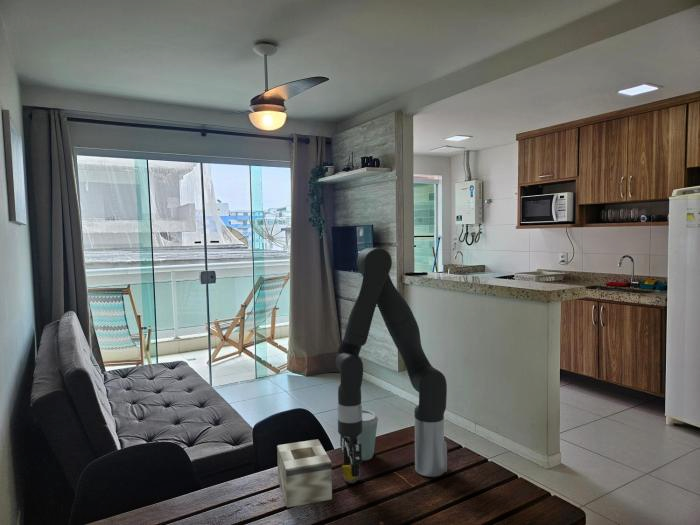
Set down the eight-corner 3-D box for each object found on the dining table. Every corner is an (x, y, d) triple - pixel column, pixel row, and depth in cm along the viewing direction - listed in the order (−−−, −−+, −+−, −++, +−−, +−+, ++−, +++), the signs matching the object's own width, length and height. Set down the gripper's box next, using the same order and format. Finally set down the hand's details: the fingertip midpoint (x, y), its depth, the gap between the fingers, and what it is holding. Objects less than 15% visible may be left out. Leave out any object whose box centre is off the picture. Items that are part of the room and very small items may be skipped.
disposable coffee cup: (384, 454, 162) (383, 411, 162) (368, 467, 153) (367, 421, 153) (358, 447, 168) (357, 405, 167) (341, 459, 159) (340, 415, 158)
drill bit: (365, 483, 144) (350, 471, 138) (350, 489, 145) (334, 477, 139) (362, 466, 148) (348, 453, 142) (347, 472, 149) (332, 460, 143)
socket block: (318, 472, 150) (317, 438, 150) (332, 500, 134) (331, 462, 134) (277, 479, 147) (276, 444, 146) (287, 508, 130) (286, 470, 130)
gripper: (369, 424, 137) (370, 478, 138) (354, 407, 151) (355, 457, 151) (344, 427, 135) (345, 482, 136) (331, 410, 148) (332, 460, 149)
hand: (350, 469), depth 144 cm, fingers open, 8 cm apart
